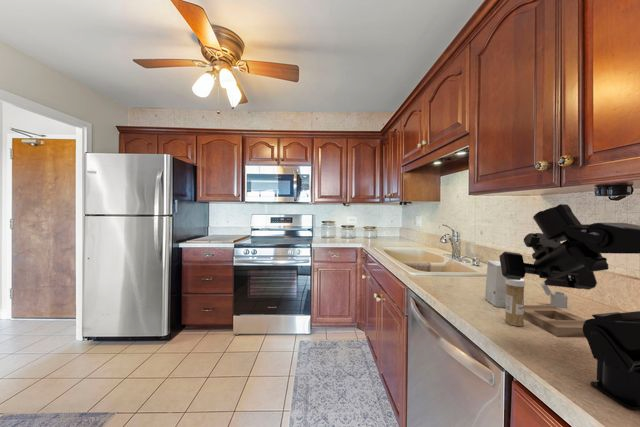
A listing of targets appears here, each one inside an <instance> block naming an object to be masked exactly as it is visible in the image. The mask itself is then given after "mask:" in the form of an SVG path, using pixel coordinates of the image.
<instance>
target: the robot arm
mask: <svg viewBox="0 0 640 427" xmlns="http://www.w3.org/2000/svg"><path fill="white" fill-rule="evenodd" d="M532 219H533V220H534V222H535V223H536V225H537V226H538V228H539V229H540V230H541V232H535V233H534V232H532V233H531V232H530V233H528V234H526V235H525V236H524V237H523V243H524V245H525V246H526V247H527V248H532V250H533V251H534V252H533V253H532V254H531V256H532V259H533V260H535V261H534V262H533V263H528V262H524V257H523V255H522V254H521V253H519V252H512V251H511V252H510V251H504V252H502V253H501V254H500V255H499V257H498V258H499V261H500V264H501V270H502V275H503V276H504V277H506V279H508V280H521V279H524V278H525V276H526V274H527V275H528V274H529V275H535V276H538V277H539V278H538V279H544V282H543V283H545V285H547V286H548V287H559V288H567V289H568V288H569V289H575V290H576V289H577V290H581V289H582V290H586V291H587V290H588V291H590V290H592V289H594V288H595V287H596V286H597V284H598V281H597V278H596V275H595V273H594V272H600V271H607V270H609V263H608V262H607V260H608V258H607V257H605V256H602V254H626V255H627V254H635V255H636V254H640V224H639V225H638V224H633V223H628V222H594V223H591V224H590V223H589V224H587V223H586V224H583V223H581V221H580V220H579V219H578V218H577V217H576V215H575V214H574V212H573V210H572V208H571V207H570V206H569V205H568V204H566V203H564V204H558V205H557V206H554V207H550V208H547V209H545V210H540V211H538V212H536V214H535V213H534V215H533V217H532ZM591 316H592V317H593V318H589V319H588V318H587V319H586V321H584V325H583V333H584V336H585V337H584V338H585V339H586V340H587V343H588V346H589V349H590V351H591V355H592V358H594V359H595V360H596V380H595V381H590V385H591V386H592V387H593V388H595V389H596V390H598V391H599V392H602V393H603V394H605V395H606V396H608V397H610V398H611V399H613V401H615V402H617V403H619V404H621V405H622V406H623V407H625V408H627V409H629V410H635V411H636V410H637V411H640V310H637V311H627V312H626V311H625V312H619V311H616V312H606V313H597V314H595V313H594V314H591Z"/></svg>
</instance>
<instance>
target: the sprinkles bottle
mask: <svg viewBox="0 0 640 427" xmlns="http://www.w3.org/2000/svg"><path fill="white" fill-rule="evenodd" d="M525 281H526V280H525V279H524V278H522V279H521V280H508V279H506V306H505V307H504V308H505V318H504V322H505V323H507V324H508V325H510V326H515V327H522V326H524V325H525V323H524V319H523V314H524V305H525V304H524V303H525V299H524V296H525V294H524V292H525V286H526V282H525Z"/></svg>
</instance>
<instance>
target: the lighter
mask: <svg viewBox="0 0 640 427" xmlns="http://www.w3.org/2000/svg"><path fill="white" fill-rule="evenodd" d="M540 286H541V287H542V289H543V291H544V293H545V295H546V296H550V302H549V305H551V306H554V307H556V308H559V309H565V308H566V309H568V298H569V297H568V295H566V294H565V292H562V291H556V290H555V291H554V292H553V293H552V291H551V290H550V288H549V286H548V285H545V283H544V282H540ZM566 309H565V310H566Z"/></svg>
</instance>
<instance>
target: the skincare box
mask: <svg viewBox="0 0 640 427" xmlns="http://www.w3.org/2000/svg"><path fill="white" fill-rule="evenodd" d="M484 294H485V295H484V298H485V300H486V301H488V302H489V303H490V304H491V305H492V306H493V307H497V308H505V306H506V277H504V276H503V275H502V270H501V264H500V260H490V259H489V260H487V268H486V278H485V293H484Z"/></svg>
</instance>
